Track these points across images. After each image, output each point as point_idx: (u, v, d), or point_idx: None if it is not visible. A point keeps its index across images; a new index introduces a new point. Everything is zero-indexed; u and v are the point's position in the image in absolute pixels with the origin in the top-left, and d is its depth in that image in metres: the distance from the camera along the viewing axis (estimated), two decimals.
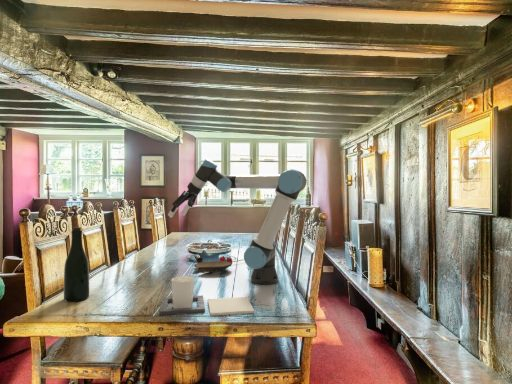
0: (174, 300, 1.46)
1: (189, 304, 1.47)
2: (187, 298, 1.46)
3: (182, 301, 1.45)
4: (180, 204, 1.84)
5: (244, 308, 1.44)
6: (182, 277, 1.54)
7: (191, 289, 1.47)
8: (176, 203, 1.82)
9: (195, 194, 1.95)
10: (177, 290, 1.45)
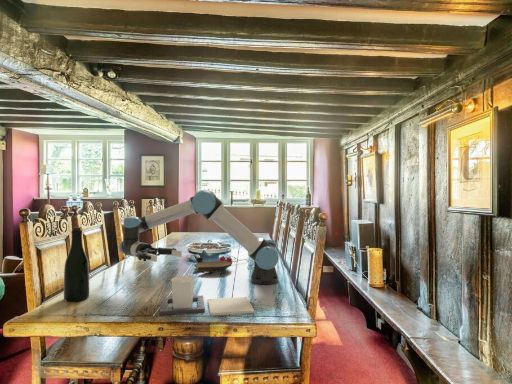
0: (174, 300, 1.46)
1: (189, 304, 1.47)
2: (187, 298, 1.46)
3: (182, 301, 1.45)
4: (145, 253, 1.56)
5: (244, 308, 1.44)
6: (182, 277, 1.54)
7: (191, 289, 1.47)
8: (138, 255, 1.54)
9: None
10: (177, 290, 1.45)
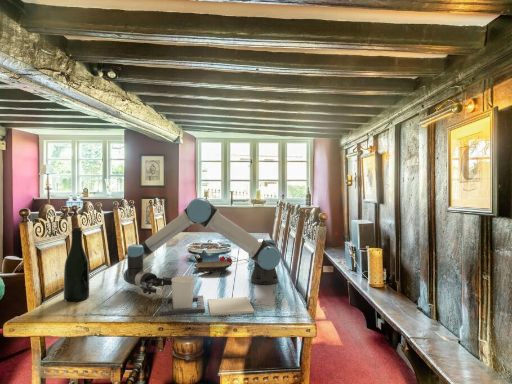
0: (174, 300, 1.46)
1: (189, 304, 1.47)
2: (187, 298, 1.46)
3: (182, 301, 1.45)
4: (150, 285, 1.53)
5: (244, 308, 1.44)
6: (182, 277, 1.54)
7: (191, 289, 1.47)
8: (143, 288, 1.50)
9: None
10: (177, 290, 1.45)
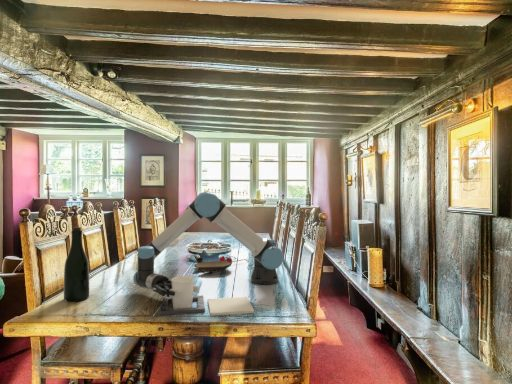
0: (174, 300, 1.46)
1: (189, 304, 1.47)
2: (187, 298, 1.46)
3: (182, 301, 1.45)
4: (167, 287, 1.48)
5: (244, 308, 1.44)
6: (182, 277, 1.54)
7: (191, 289, 1.47)
8: (161, 291, 1.46)
9: None
10: None
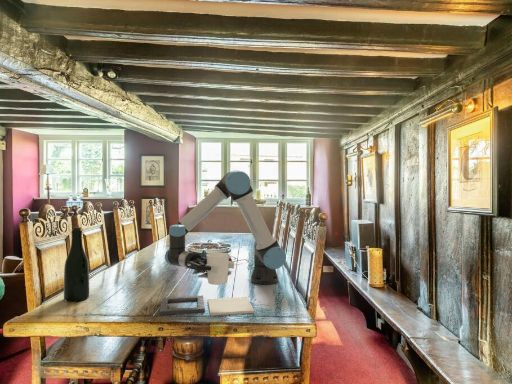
0: (210, 276, 1.45)
1: (225, 279, 1.46)
2: (223, 273, 1.45)
3: (218, 276, 1.44)
4: (202, 263, 1.48)
5: (244, 308, 1.44)
6: (216, 253, 1.53)
7: (226, 264, 1.47)
8: (196, 266, 1.45)
9: None
10: None
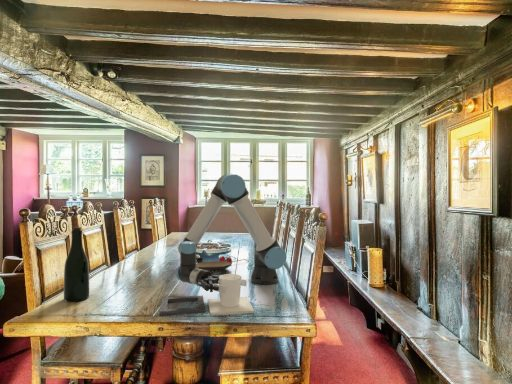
0: (222, 298, 1.46)
1: (237, 302, 1.47)
2: (235, 296, 1.46)
3: (230, 299, 1.45)
4: (211, 282, 1.48)
5: (244, 308, 1.44)
6: (228, 275, 1.54)
7: (239, 287, 1.47)
8: (205, 286, 1.46)
9: None
10: None
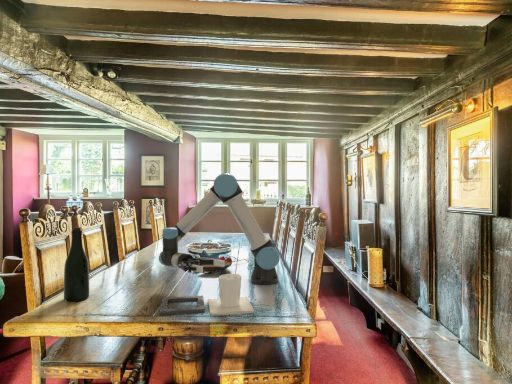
0: (222, 298, 1.46)
1: (237, 302, 1.47)
2: (235, 296, 1.46)
3: (230, 299, 1.45)
4: (189, 264, 1.56)
5: (244, 308, 1.44)
6: (228, 275, 1.54)
7: (239, 287, 1.47)
8: (183, 267, 1.54)
9: (199, 259, 1.69)
10: (225, 288, 1.45)
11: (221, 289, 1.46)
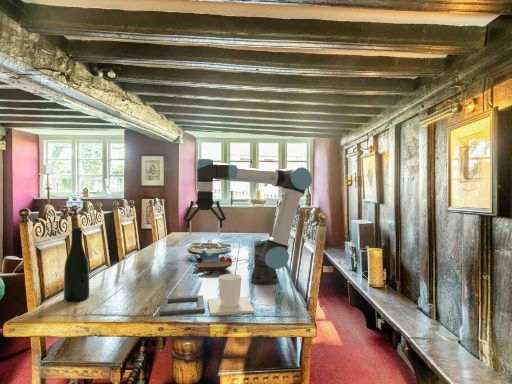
0: (222, 298, 1.46)
1: (237, 302, 1.47)
2: (235, 296, 1.46)
3: (230, 299, 1.45)
4: None
5: (244, 308, 1.44)
6: (228, 275, 1.54)
7: (239, 287, 1.47)
8: None
9: None
10: (225, 288, 1.45)
11: (221, 289, 1.46)
